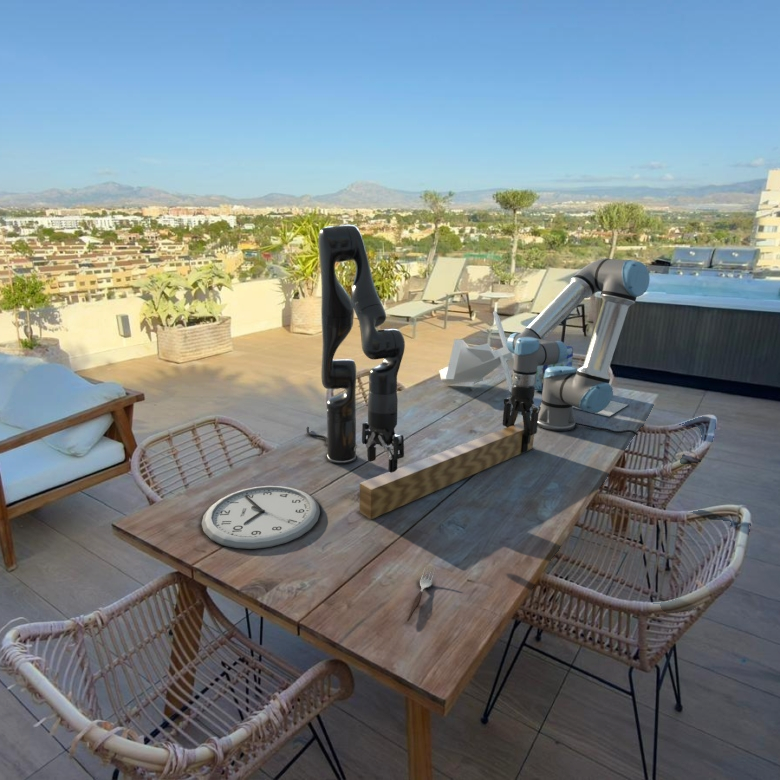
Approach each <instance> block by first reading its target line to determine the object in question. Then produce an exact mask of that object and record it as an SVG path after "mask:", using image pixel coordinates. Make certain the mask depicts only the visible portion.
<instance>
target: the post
mask: <svg viewBox="0 0 780 780" xmlns="http://www.w3.org/2000/svg"><path fill="white" fill-rule="evenodd" d="M523 434H525V432H524V424H523V421H521V422H518V423H515V424H514V425H512V426H510V427H505V428H502V429H499V430H497V431H494V432H491V433H488V434H486V435H483V436H481V437H478V438H476V439H473V440H469V441H468V442H465V443H462V444H459V445H457V446H454V447H452V448H449V449H446V450H443V451H441V452H438V453H435V454H433V455H430V456H427V457H425V458H421V459H419V460H417V461H414V462H412V463H409V464H406V465H404V466H400V467H397V470H396V471H395V472H392V473H391V472H389V471H388V472H385V473H383V474H379V475H377V476H374V477H372V478H369V479H366V480H364V481H361V482H359V513H360V514H361V515H363V516H365V517H366V518H367V519H369V520H374V519H376V518H378V517H381V516H382V515H384V514H387V513H389V512H391V511H393V510H396V509H398V508H400V507H402V506H405V505H407V504H409V503H412V502H414V501H416V500H419V499H422V498H423V497H425V496H427V495H430V494H432V493H434V492H437V491H439V490H442V489H444V488H445V487H448V486H450V485H453V484H455V483H457V482H460V481H461V480H464V479H467V478H468V477H471V476H473V475H475V474H479V473H480V472H482V471H485V470H487V469H490V468H492V467H494V466H496V465H498V464H500V463H503V462H505V461H507V460H510V459H512V458H514V457H516V456H519V455H521V454H522V453H521V445H522V435H523ZM534 438H535V434H534V435H531V439H530V443H529V444H528V449H527V451H526V452H528V451H530V450H532V449H533V447H534V440H535V439H534Z"/></svg>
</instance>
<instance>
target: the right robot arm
mask: <svg viewBox="0 0 780 780" xmlns="http://www.w3.org/2000/svg"><path fill="white" fill-rule="evenodd" d="M650 281H651V280H650V272H649V269H648V267H647V266H646V264H645V263H643V262H642V261H638V260H633V259H618V258H600V259H596V260H594V261H593V262H590V263H589V264H587V265H586V266H584V267H583V268H581V269H580V270H578V271H577V273H575V274H574V275H573V276H572V277H571V278H570V279H569V281H568V282H569V283H568V285H567V286H566V287H564V289H563V290H562V291H561V292H560V293H559V294H558V295H557V296H556V297H555V298H554V299H553V300H552V301H551V302H550V303H549V304H548V305H547V306H546V307H545V308H544V309H543V310H542V311H541V312H540V313H539V314H538V315H537V316H536V317H535V318H534V319H533V320H532V321H531V322H530V323H529V324H528V325H527V327H525V328H524V329H523V330H522V332H514V333H511V334H510V335H509V336H508V338H507V339H506V340H507V348H508V350H509V351H510V352H511V353H514V360H513V367H512V368H513V369H512V377H511V378H512V383H513V384H512V388H511V392H510V396H508V397H505V398H503V399H502V401H503V414H502V415H503V416H502V426H503V427H505V428H507V427H510V426H512V425H515V424H516V421H517V418H518V415H519V412H520V414H521V416H522V422H523V424H524V432H525V434H523V435H522V445H521V454H524V453H526V452H528V451H527V449H528V444H529V443H530V439H531V435H534V436H535V434H537V433H538V427H539V428H542V429H544V430H549V431H556V432H567V431H572V430H574V429H575V428H576V426H581V427H585V428H588V429H593V430H599V431H607V432H609V433H614V434H624V433H631V434H634V435H635V436H639V433H637V432H636V431H634V430H632V429H625V430H613V429H610V428H607V427H598V426H593V425H589V424H585V423H580V422H576V418H575V417H576V416H575V413H574V407H577V408H579V409H578V410H580V409H581V411H583V412H587V413H590V414H596V413H597V412H600V411H602V410H603V409H605V408H606V407H607V406H608V404H609V403H610V401H612V399H613V396H614V389H613V386H612V385H611V384H610V381H611V376H610V375H609V369H610V367H611V364H612V360H613V358H614V357H613V356H614V353H615V351H616V348H617V345H618V341H619V338H620V335H621V332H622V329H623V327H624V323H625V320H626V316H627V313H628V310H629V307H630V306H632V305H634V304H636V301H637V298H639V297H642V296H643V295H644V294H645V293H646V292H647V290H648V288H649V285H650ZM599 292H600V297H601V299H602V304H601V307H600V309H599V313H598V317H597V320H596V323H595V325H594V326H595V327H594V330H593V332H592V336H591V339H590V342H589V345H588V349H587V352H586V355H585V358H584V361H583V365H582V366H581V367H579V368H577V367H574V366H572V367H568V366H555V367H549V368H547V369H546V370H545V375H544V378H543V391H541V402H540V405H536V404H535V402H534V397H535V391H536V390H535V386H534V385H535V383H536V373H537V366H541V365H550V364H557V363H561V362H563V361H564V360H565V359H566V358H567V353H568V350H567V347H566V346H567V345H566V344H565V342H563V341H561V340H557V341H556V340H553V341H549V340H545V339H546V338H547V337H548V336H550V334H552V332H553V331H554V330H556V328H557V327H558V326H559V325H560V324H562V322H564V320H566V318H567V317H568V316H569V315H570V314H571V313H572V312H573V311H574V310H575V309H576V308H577V307H578V306H579V305H580V304H581V303H582V302H583V301H584V300H585V299H589V298H591V297H592V296H593V295H594V294H596V293H599Z"/></svg>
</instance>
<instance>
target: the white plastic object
mask: <svg viewBox="0 0 780 780" xmlns="http://www.w3.org/2000/svg"><path fill="white" fill-rule="evenodd" d="M492 315H493V319H494V321H495V324H496V325H495V326H496V328H497V332H498V335H499V338H500V342H501V345H502V347H500V348H498V349H496V350H495V349H493V348H492V347H491V346H490V344H489V343H488V342H487V343H483V344H479V345H473V346H469V345H468V343H466V342H465V340H464V339H463V338H460V339H458V338H454V340H453V344H452V349H451V353H450V357H449V362H448V366H446V367H444V368H442V369H440V370H439V371H438V372H439V376H440V381H442V383H443V384H444V385H445V386H449V385H458V384H467V383H468V384H469V383H473V384H477V383H480V382H482V381H484V378H485V377H486V376H487V375H489V374H490V373H492V372H494V371H495V370H496V369H497V368H499V367H500V366H502V370H503V373H504V376H505V380H506V383H507V386H508V390H509V393H511V388H512V384H513V383H512V378H513V377H512V375H511V371H510V369H509V365H508V361H510V360H513V361H514V353H511V352H510V351H509V350H508V348H507V340H508V339H507V337H506V334H505V331H504V328H503V325H502V321H501V318H500V315H499V314H498V312H497V311H496V310H495V311H492Z"/></svg>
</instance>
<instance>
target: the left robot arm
mask: <svg viewBox="0 0 780 780" xmlns="http://www.w3.org/2000/svg"><path fill="white" fill-rule="evenodd" d="M317 243H318V244H317V246H318V247H317V248H318V255H319V256H318V257H319V268H320V270H319V271H320V281H321V284H320V285H321V299H320V300H321V301H320V303H321V304H320V312H321V315H320V316H321V318H320V320H321V336H322V337H321V338H322V348H321V349H322V351H321V368H320V369H321V370H320V371H321V372H320V374H321V375H320V377H321V384H322V386H323V388H324V389H327V390H344V391H342V392H341V393H339V394H337V395H334V396H331V397H329V398H328V400H327V401H326V429H327V430H326V431H327V436H325V435H323V434H314V433H311V432H310V426H306V434H307V435H308V436H310V437H314V438H315V437H316V438H321V439H323V440H325V445H326V447H327V455H326V456H327V460H328V461H329V462H330V463H333V464H339V465H340V464H341V465H342V464H343V465H345V464H349V463H351V462H354V461H356V459H357V448H358V444H357V410H356V409H357V407H356V406H357V405H356V404H357V402H356V400H357V399H356V390H357V375H358V373H357V371H358V370H357V364H356V362H355V360H353V359H350V358H349V359H346V358H345V359H334V357H335V355H336V353H337V351H338V349H339V347H340V346H341V344H342V343H343V342H344V341H345V340H346V338H347V337H348V335H349V334H350V333H351V331H352V328H353V327H354V312H355V315H356V317H357V320H358V323H359V330H360V342H361V349H362V352H363V353H364V355H365V356H366V357H367V358H368V359H370V360H372V361H373V360H374V361H375V360H382V362H381V363H380V364H379V365H377V366H374V367H373V368H371V369H370V370H369V373H368V397H367V422H363V423H362V428H361V443H362V445H365V448H366V451H367V453H366V454H367V455H366V456H367V461H368V462H371V463H372V462H374V461H376V459H377V453H376V452H377V450H376V449H377V447H376V446H377V445H379V446H380V447H381V448H383V451H384V452H385V453H386V454H387V456H388V472H391V473H392V472H395V471H396V470H397V469H398V461H399V460H400V459H402V458H404V457H405V438H404V435H403V434H399V435H398V434H396V432H395V428H396V427H397V425H398V403H399V402H398V401H399V400H398V399H399V398H398V374H399V371H400V367H401V363H402V360H403V356H404V354H405V348H406V342H405V337H404V335H403V334H402V332H401V331H400V330H399V329H397V328H388V329H387V328H386V329H376V328H378V327H380V326H381V325H383V324H385V322H386V320H387V313H386V311H385V308H384V306H383V303H382V301H381V298H380V296H379V293H378V292H377V289H376V285H375V282H374V279H373V274H372V270H371V266H370V262H369V258H368V253H367V251H366V247H365V243H364V239H363V236H362V234H361V231H360V230H359V229H358V227H357V226H356V225H353V224H343V225H335V226H333V225H332V226H326V227H322V228H321V229H320V230H319V233H318V239H317ZM351 261H352V262H353V264H354V267H355V275H354V279H353V282H352V285H351V290H350V295H349V293H348V292H347V291H346V290H345V288H344V286H343V285H342V284H341V282H340V280H339V279H338V276H337V273H336V263H343V262H344V263H345V262H351ZM390 445H391V446H390Z"/></svg>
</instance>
